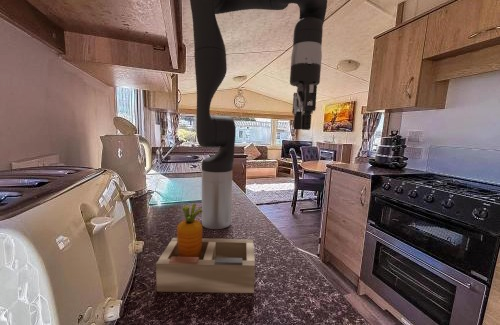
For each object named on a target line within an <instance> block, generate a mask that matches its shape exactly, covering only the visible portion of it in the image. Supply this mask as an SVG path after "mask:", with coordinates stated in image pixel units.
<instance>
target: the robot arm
mask: <svg viewBox="0 0 500 325" xmlns="http://www.w3.org/2000/svg"><path fill="white" fill-rule="evenodd" d="M189 2H190V4H189V5H190V10H191V15H192V16H191V17H192V19H191V20H192V27H193V28H192V29H193V30H192V31H193V46H194V47H193V48H194V50H193V51H194V55H193V56H194V71H195V82H196V83H195V85H196V120H195V121H196V123H195V124H196V128H195V130H196V132H195V133H196V139H197V143H198V145H199V146H200V147H202V148H219V150H218V151H217V152H215V154H213V155H211V156H209V157H207V158H204V159H203V160H202V162H201V210H202V212H201V225H202V227H203V228H206V229H208V230H221V229H222V230H223V229H225V228H226V229H227V228H229V227H230V226H231V225H232V209H233V208H232V206H233V205H232V204H233V193H232V192H233V165H234V161H235V148H236V147H235V145H236V131H237V130H236V124H235V121H234V119H233V117H231V116H230V115H229V116H228V115H213V114H211V103H212V101H213V98H214V97H215V94H216V92H217V90H218V89H219V87H220V86H221V84H222V83H223V81H224V79H225V77H226V75H227V71H228V70H227V69H228V67H227V52H226V51H227V50H226V45H225V42H224V39H223V35H222V33H221V30H220V27H219V24H218V21H217V17H216V15H219V14H227V13H232V12H239V11H245V10H266V11H269V10H270V11H282V10H285V9H286V8H288V6H289V5H290V4H294V5H295V4H296V5H297V6H298V8H299V17H298V18H299V19H298V21H297V22H296V23H295V25H294V29H293V30H294V31H293V40H292V41H293V42H292V49H291V50H292V51H291V57H290V71H289V72H290V74H289V84H290V85H291V86H293V87H296V88H297V89H296V92H293V95H292V96H293V100H292V111H291V112H292V115H293V116H294V117H293V129H294V130H304V131H306V130H308V131H310V130H311V126H312V115H313V113H314V112H315V111H316V109H317V107H316V104H317V90H318V85H319V84H320V82H321V71H322V70H321V69H322V57H323V55H322V54H323V53H322V46H323V44H322V43H323V26H324V23H325V19H326V13H327V8H328V0H189Z"/></svg>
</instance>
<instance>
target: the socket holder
mask: <svg viewBox="0 0 500 325" xmlns="http://www.w3.org/2000/svg"><path fill="white" fill-rule="evenodd" d="M155 270H156V273H155V277H156V279H155V280H156V292H164V293H167V292H168V293H169V292H172V293H173V292H174V293H231V294H232V293H234V294H235V293H237V294H242V293H243V294H254V293H255V275H256V260H255V246H254V239H252V238H251V239H250V238H247V239H244V238H242V239H241V238H203V237H202V247H201V253H200V257H180V255H179V250H178V241H177V237H172V239H171V240H170V242H169V243H168V245H167V246H166V247H165V249H164V251H163V252H162V254H161V256H160V257H159V258H158V260H157V261H156V263H155Z"/></svg>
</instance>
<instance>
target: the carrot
mask: <svg viewBox="0 0 500 325" xmlns="http://www.w3.org/2000/svg"><path fill="white" fill-rule="evenodd" d="M196 206H197V203H194V202H193V203H192V206H191V210H190V206H188V205H186V206H183V207H182V210H183V214H184V218H185V220H184V219H183V220H182V221H181V222H178V224H177V226H176V238H177V241H178V250H179V255H180V257H200V253H201V247H202V238H203V228H204V227H203V226H202V222H200V221H199V220H198V219H196V217H197V216H198V215H199V213H202V208H199V209H197V210H196ZM195 210H196V211H195Z"/></svg>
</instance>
